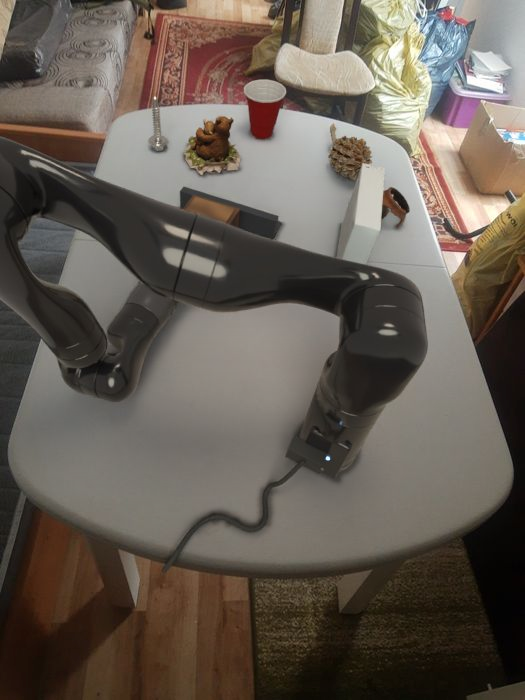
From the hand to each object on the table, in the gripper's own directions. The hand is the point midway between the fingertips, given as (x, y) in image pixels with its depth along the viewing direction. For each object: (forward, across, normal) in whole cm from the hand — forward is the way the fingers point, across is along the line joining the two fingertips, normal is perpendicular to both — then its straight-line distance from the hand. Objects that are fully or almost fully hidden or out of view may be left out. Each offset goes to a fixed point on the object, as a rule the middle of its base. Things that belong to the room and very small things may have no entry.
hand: (196, 238), depth 91 cm
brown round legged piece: (+32, -32, +8) cm, 46 cm away
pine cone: (+50, -18, +8) cm, 54 cm away
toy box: (+5, 0, +7) cm, 9 cm away
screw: (+35, +26, +8) cm, 44 cm away
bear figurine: (+38, +13, +8) cm, 40 cm away
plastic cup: (+55, +6, +8) cm, 56 cm away
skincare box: (+17, -28, +7) cm, 34 cm away
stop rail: (+18, 0, +7) cm, 19 cm away
